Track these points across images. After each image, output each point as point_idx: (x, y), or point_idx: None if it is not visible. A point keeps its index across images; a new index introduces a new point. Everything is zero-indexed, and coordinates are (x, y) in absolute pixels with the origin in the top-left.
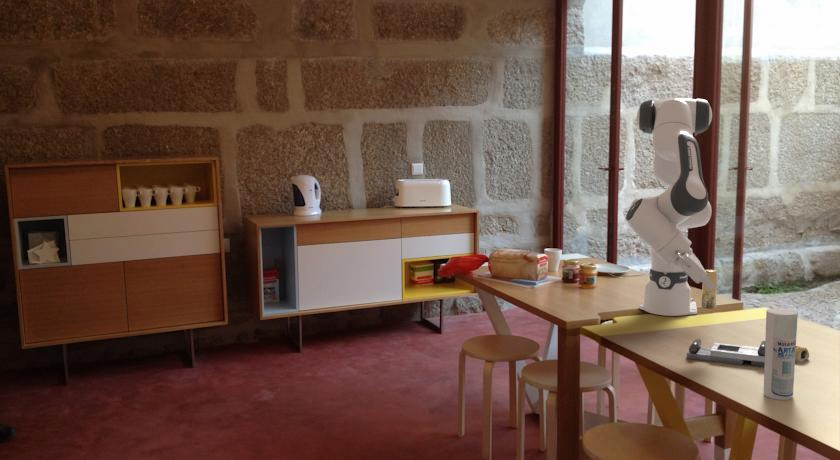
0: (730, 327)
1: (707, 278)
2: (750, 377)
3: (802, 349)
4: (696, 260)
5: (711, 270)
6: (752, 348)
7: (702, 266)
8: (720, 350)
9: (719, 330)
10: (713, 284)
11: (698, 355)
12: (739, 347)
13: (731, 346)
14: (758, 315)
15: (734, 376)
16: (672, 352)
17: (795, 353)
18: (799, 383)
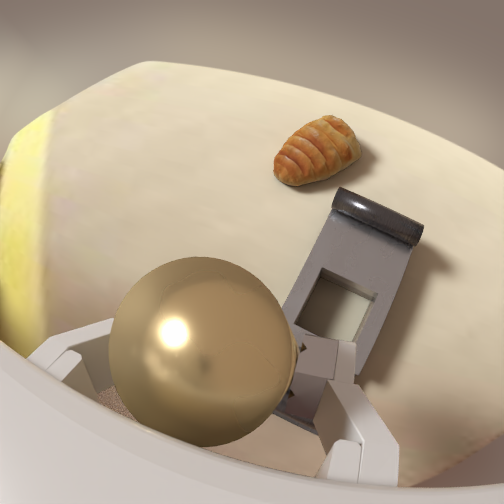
0: (68, 211)
1: (382, 435)
2: (476, 304)
3: (348, 126)
4: (12, 501)
5: (161, 314)
6: (340, 237)
7: (122, 448)
8: (362, 343)
9: (78, 242)
10: (354, 358)
11: None
12: (320, 269)
13: (309, 290)
14: (33, 144)
15: (472, 341)
16: (255, 453)
17: (354, 146)
18: (494, 213)
